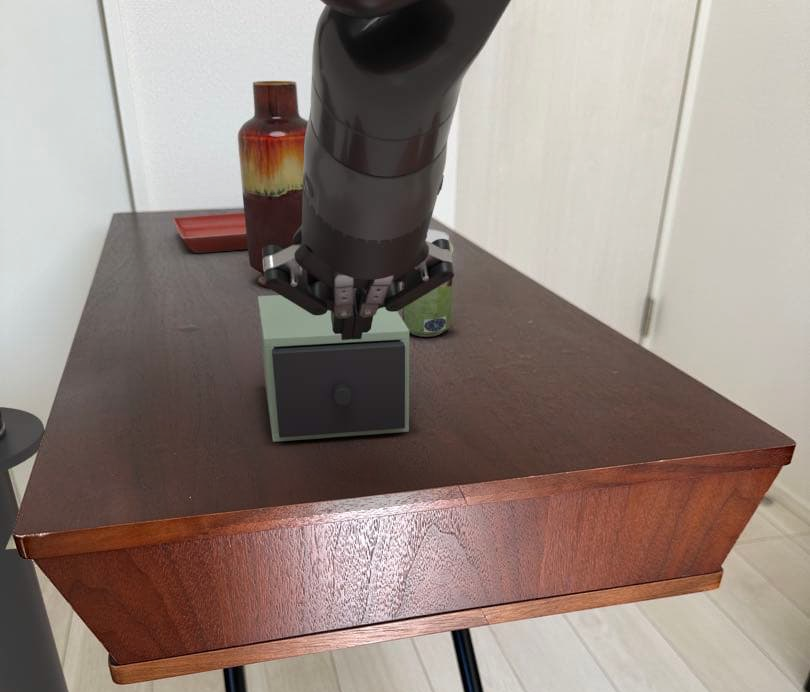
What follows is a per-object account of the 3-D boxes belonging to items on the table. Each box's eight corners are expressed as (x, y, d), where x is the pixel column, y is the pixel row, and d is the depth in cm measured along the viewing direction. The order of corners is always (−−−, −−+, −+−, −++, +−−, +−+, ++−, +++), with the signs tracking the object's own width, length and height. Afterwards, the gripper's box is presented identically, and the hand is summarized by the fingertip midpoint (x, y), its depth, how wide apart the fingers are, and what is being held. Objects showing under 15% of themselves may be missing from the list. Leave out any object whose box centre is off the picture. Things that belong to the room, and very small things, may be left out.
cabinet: (409, 431, 78) (409, 330, 73) (272, 442, 76) (263, 338, 71) (385, 380, 90) (383, 289, 85) (265, 388, 88) (257, 296, 83)
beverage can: (443, 323, 107) (445, 224, 101) (458, 340, 101) (462, 237, 95) (395, 326, 106) (394, 226, 100) (407, 344, 100) (408, 239, 94)
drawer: (407, 433, 76) (407, 349, 72) (280, 443, 74) (273, 357, 70) (382, 380, 87) (381, 305, 83) (272, 387, 85) (265, 311, 81)
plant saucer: (184, 257, 138) (181, 236, 136) (174, 235, 153) (171, 216, 151) (292, 249, 143) (291, 229, 141) (272, 229, 158) (271, 210, 156)
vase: (335, 275, 128) (327, 80, 115) (311, 293, 119) (299, 84, 105) (267, 270, 130) (252, 79, 117) (238, 288, 121) (218, 83, 108)
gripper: (478, 117, 48) (429, 280, 65) (244, 120, 46) (255, 287, 63) (498, 233, 47) (442, 369, 63) (256, 241, 44) (264, 380, 61)
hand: (349, 328), depth 63 cm, fingers closed
